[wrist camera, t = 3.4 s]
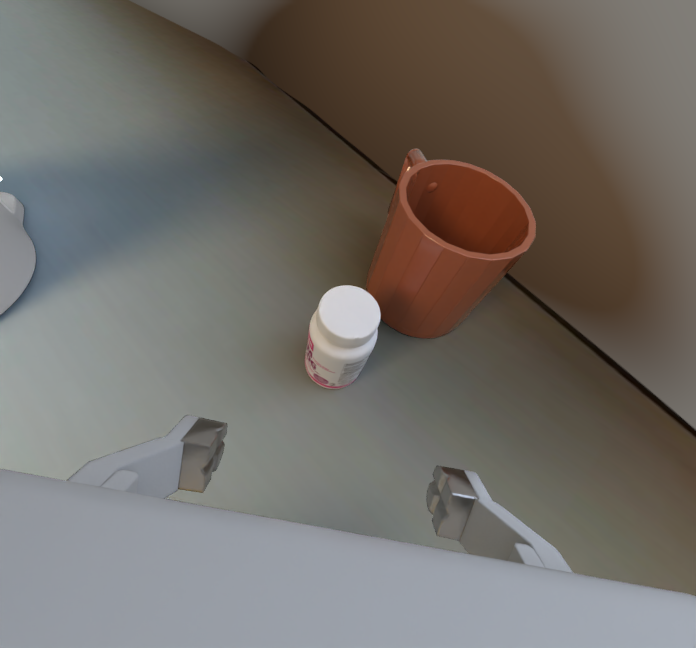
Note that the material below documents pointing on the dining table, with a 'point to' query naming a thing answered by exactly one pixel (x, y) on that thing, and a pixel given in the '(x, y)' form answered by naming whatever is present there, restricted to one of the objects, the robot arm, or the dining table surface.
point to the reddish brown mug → (445, 244)
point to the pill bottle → (341, 336)
